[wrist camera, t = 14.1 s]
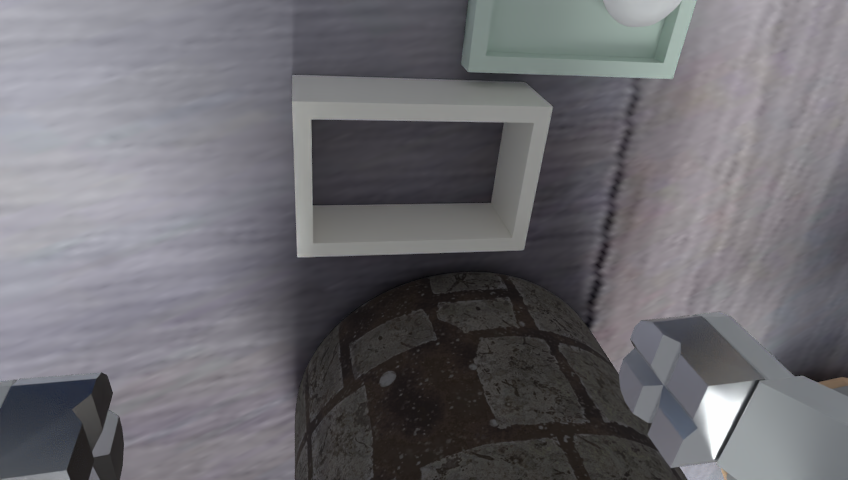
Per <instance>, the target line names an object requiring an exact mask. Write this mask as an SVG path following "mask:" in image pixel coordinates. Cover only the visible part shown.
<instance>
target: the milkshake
mask: <svg viewBox="0 0 848 480" xmlns="http://www.w3.org/2000/svg"><path fill="white" fill-rule="evenodd" d="M589 1H590V2H592V3H593V4H595V5H596V6H598V7H599V8H600V9H602V10H603V11H604V12H606V13H607V14H608V15H610V16H611V17H612V18H614V19H615V20H616V21H617V22H619V23H620V24H622V25H624V26H628V27H644V26H650V25H653V24H655V23H657V22H659V21H661V20H662V19H664V18H665V17H666V16H668V15H669V14H670V13H671V12H672V11H673V10H674V9H675V8H676V7H677V6H678V5H679V4H680V2H681V1H682V0H589Z"/></svg>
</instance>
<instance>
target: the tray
mask: <svg viewBox="0 0 848 480" xmlns="http://www.w3.org/2000/svg"><path fill="white" fill-rule="evenodd" d="M696 1H697V0H682V1H681V2H680V4H679V5H678V6H677V7H676V8H675V9H674V10H673V11H672V12H671V13H670V14H669V15H668V16H666V17H665V18H664V19H662V20H661V21H659V22H657V23H655V24H653V25H650V26H644V27H628V26H624V25H622V24H620V23H619V22H617V21H616V20H615V19H614V18H612V17H611V16H610V15H608V14H607V13H606V12H604V11H603V10H602V9H600V8H599V7H598V6H596V5H595V4H593V3H592V2H590V1H589V0H468V7H467V16H466V24H465V33H464V42H463V50H462V59H461V65H462V66H463V67H464V68H465V69H466V70H467V72H478V73H508V74H537V75H567V76H597V77H627V78H656V79H673V76H674V73H675V70H676V67H677V63H678V60H679V57H680V54H681V50H682V47H683V44H684V40H685V37H686V34H687V31H688V27H689V24H690V21H691V17H692V14H693V11H694V8H695V4H696Z"/></svg>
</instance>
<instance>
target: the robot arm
mask: <svg viewBox="0 0 848 480" xmlns="http://www.w3.org/2000/svg"><path fill="white" fill-rule="evenodd" d="M630 340H631V342H632V344H633V346H634V349H633V350H632V351H631V352H630V353H629V354H628V355H627V356H626V357H625V358H624V359H623V362H622V365H621V368H620V372H619V381H620V390H621V393H622V395H623V398H624V400H625V402H626V404H627V405H628V407H629V408H630V410H631V412H632V413H633V414H634V415H636V416H638V417H639V418H641V419H643V420H644V421H646V422H647V423H648V434H647V435H648V436H649V438H650V439H651V441H652V442H653V444H654V445H655V446H656V448H657V449H658V451H659V452H660V454H661V455H662V456H663V458H664V459H665V461H666V462H667V464H668V465H669V467H670V468H675V467H682V466H689V465H697V464H704V463H711V462H717V464H716V465H718V466H719V467H720V468H722V469H723V470H724V471H726V472H727V473H729V474H730V475H731V476H733V477H734V478H735V479H737V480H848V396H846V395H844V394H841V393H839V392H837V391H835V390H833V389H831V388H828V387H826V386H824V385H822V384H820V383H818V382H815V381H813V380H811V379H809V378H807V377H805V376H794V375H793V374H792V373H791V372H790V371H788V370H787V369H786V368H785V367H784V366H783V365H782V364H781V363H780V362H779V361H778V360H777V359H776V358H775V357H774V356H772V355H771V354H770V353H769V352H768V351H767V350H766V349H765V348H764V347H763V346H762V345H761V344H760V343H759V342H758V341H756V340H755V339H754V338H753V337H752V336H751V335H750V334H749V333H748V332H747V331H746V330H745V329H744V328H743V327H742V326H740V325H739V324H738V323H737V322H736V321H735V320H734V319H733V318H732V317H731V316H729V315H727V314H725V313H722V312H712V313H703V314H695V315H692V316H689V315H688V316H679V317H669V318H660V319H651V320H641V321H640V322H639V323H638V324H637V325H636V326H635V327H634V330H633V333H632V335H631V338H630ZM112 394H113V392H112V389H111V386H110V382H109V379H108V376H107V375H106V374H104V373H89V374H76V375H63V376H49V377H36V378H23V379H19V380H8V381H0V480H120V476H121V471H122V466H123V450H124V441H123V432H122V426H121V422H120V418H119V416H118V415H117V414H115V413H114V412H112V411H111V410H109V405H110V402H111V398H112Z"/></svg>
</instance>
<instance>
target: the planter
mask: <svg viewBox="0 0 848 480" xmlns="http://www.w3.org/2000/svg"><path fill="white" fill-rule="evenodd" d="M647 434H648V423H647V422H646V421H644V420H643V419H641V418H639V417H638V416H636V415H634V414H633V413H632V412H631V410H630V408H629V407H628V405H627V404H626V402H625V400H624V398H623V395H622V393H621V390H620V381H619V374H618V372H617V371H616V369H615V368H614V366H613V365H612V363H611V362H610V360H609V359H608V357H607V356H606V354H605V353H604V351H603V349H602V348H601V346H600V345H599V343H598V342H597V340H596V339H595V337H594V336H593V334H592V333H591V331H590V330H589V329H588V327H587V326H586V324H585V323H584V322H583V321H582V319H581V318H580V317H579V316H578V315H577V314H576V312H575V311H574V310H573V309H572V308H571V307H570V306H568V305H567V304H566V303H565V302H564V301H563V300H561V299H560V298H559V297H557V296H556V295H554V294H553V293H551V292H550V291H548V290H546V289H544V288H542V287H540V286H538V285H536V284H534V283H531V282H529V281H526V280H523V279H520V278H517V277H513V276H508V275H503V274H497V273H488V272H457V273H448V274H441V275H435V276H431V277H426V278H422V279H419V280H415V281H412V282H409V283H406V284H403V285H401V286H398V287H396V288H393V289H391V290H389V291H387V292H385V293H383V294H381V295H379V296H377V297H375V298H373V299H372V300H370V301H368V302H367V303H365V304H364V305H362V306H361V307H359V308H358V309H356V310H355V311H354V312H352V313H351V314H350V315H348V316H347V317H346V318H345V319H344V320H343V321H341V322H340V323H339V324H338V325H337V326H336V327H335V328H334V329H333V330H332V331H331V332H330V333H329V335H328V336H327V337H326V338H325V339H324V341H323V342H322V343H321V344H320V346H319V347H318V349H317V350H316V352H315V353H314V355H313V357H312V358H311V360H310V362H309V364H308V366H307V368H306V370H305V373H304V375H303V378H302V381H301V384H300V388H299V392H298V397H297V403H296V413H295V480H687V478H686V477H685V475H684V473H683V472H682V470H681V469H680V467H675V468H670V467H669V465H668V464H667V462H666V461H665V459H664V458H663V456H662V455H661V454H660V452H659V451H658V449H657V448H656V446H655V445H654V444H653V442H652V441H651V439H650V438H649V436H648V435H647Z"/></svg>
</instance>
